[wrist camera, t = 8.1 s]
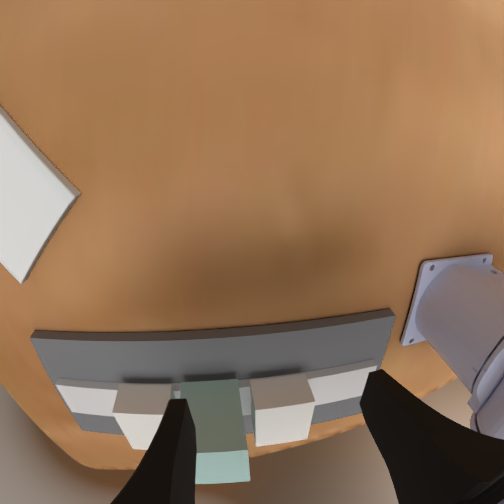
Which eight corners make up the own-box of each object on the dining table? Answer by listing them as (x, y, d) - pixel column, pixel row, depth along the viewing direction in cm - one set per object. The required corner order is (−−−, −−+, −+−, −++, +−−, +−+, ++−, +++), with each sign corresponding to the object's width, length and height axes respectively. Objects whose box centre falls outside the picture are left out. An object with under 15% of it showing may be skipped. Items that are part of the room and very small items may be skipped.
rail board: (389, 308, 21) (419, 343, 17) (359, 405, 26) (376, 439, 22) (34, 330, 18) (10, 367, 14) (84, 422, 23) (74, 458, 19)
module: (237, 378, 20) (247, 449, 14) (241, 418, 22) (250, 480, 16) (181, 382, 19) (177, 453, 14) (192, 421, 21) (192, 484, 16)
